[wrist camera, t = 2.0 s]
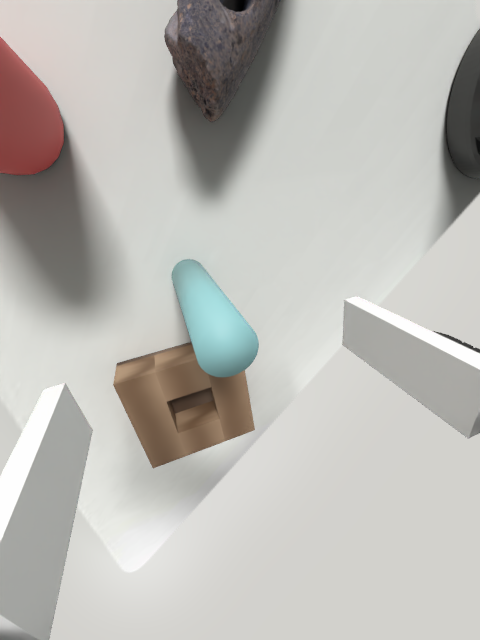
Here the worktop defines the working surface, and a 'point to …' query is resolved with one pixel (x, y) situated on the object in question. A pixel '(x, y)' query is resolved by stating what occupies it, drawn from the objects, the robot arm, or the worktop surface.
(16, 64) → the beer can
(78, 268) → the worktop surface
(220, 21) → the perforated stone tool
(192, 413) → the board
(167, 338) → the worktop surface
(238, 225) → the worktop surface
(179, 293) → the pin
